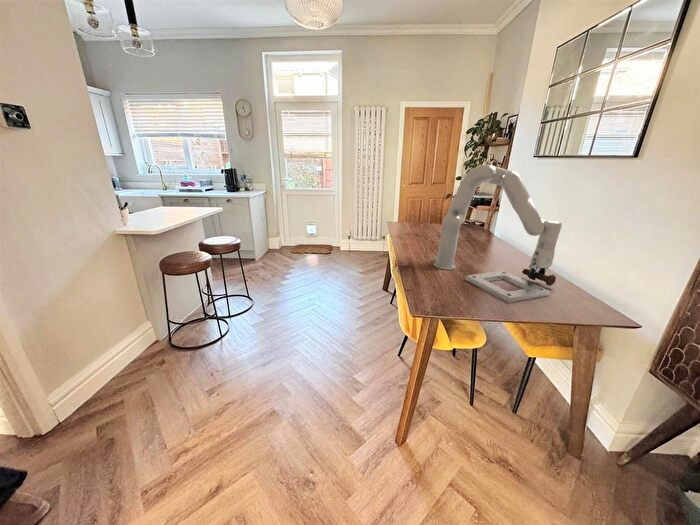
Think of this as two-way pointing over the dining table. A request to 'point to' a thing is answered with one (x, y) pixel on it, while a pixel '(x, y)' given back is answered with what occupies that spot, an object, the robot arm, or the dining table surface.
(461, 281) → the dining table surface
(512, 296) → the plate
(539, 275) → the bolt
